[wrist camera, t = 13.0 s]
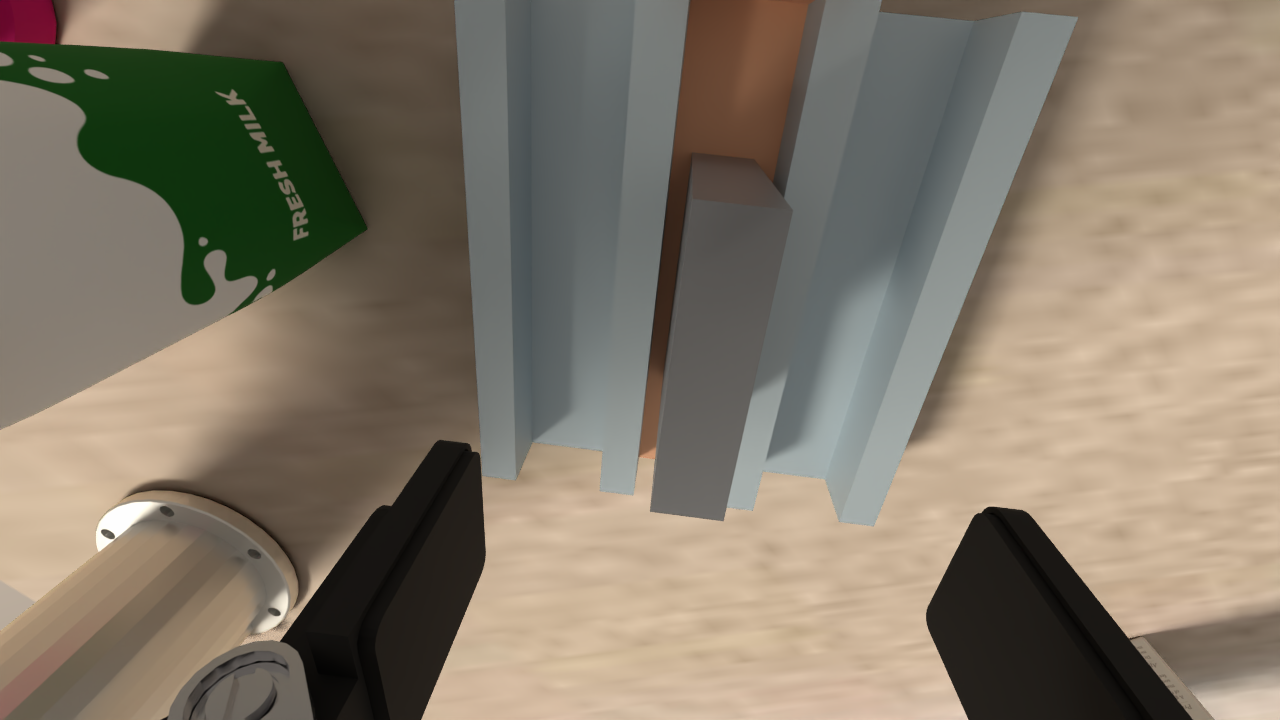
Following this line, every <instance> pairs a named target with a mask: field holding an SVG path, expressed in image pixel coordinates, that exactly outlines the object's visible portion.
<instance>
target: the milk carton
mask: <svg viewBox="0 0 1280 720" xmlns="http://www.w3.org/2000/svg"><path fill="white" fill-rule="evenodd" d="M367 229H368V228H367V226H366V225H365V223H364V221H363V219H362V217H361V215H360V213H359V211H358V209H357V207H356V205H355V203H354V201H353V199H352V197H351V195H350V193H349V191H348V189H347V187H346V185H345V183H344V182H343V180H342V178H341V176H340V174H339V172H338V170H337V168H336V166H335V164H334V162H333V160H332V158H331V156H330V154H329V152H328V150H327V148H326V146H325V144H324V142H323V140H322V138H321V137H320V135H319V133H318V131H317V129H316V127H315V125H314V123H313V121H312V119H311V117H310V115H309V113H308V111H307V109H306V107H305V105H304V103H303V101H302V99H301V97H300V95H299V94H298V92H297V90H296V88H295V86H294V84H293V82H292V80H291V78H290V76H289V74H288V72H287V70H286V68H285V66H284V64H283V62H274V61H263V60H253V59H242V58H232V57H221V56H211V55H201V54H191V53H181V52H171V51H160V50H148V49H132V48H115V47H98V46H80V45H61V44H41V43H22V42H2V41H0V430H1V429H3V428H5V427H8V426H10V425H12V424H15V423H17V422H19V421H21V420H23V419H26V418H28V417H30V416H32V415H35V414H37V413H39V412H41V411H43V410H45V409H47V408H49V407H51V406H53V405H55V404H57V403H59V402H61V401H63V400H65V399H67V398H69V397H71V396H73V395H75V394H77V393H79V392H81V391H83V390H85V389H87V388H89V387H91V386H93V385H94V384H96V383H98V382H100V381H102V380H104V379H106V378H108V377H110V376H112V375H114V374H116V373H118V372H120V371H122V370H124V369H126V368H127V367H129V366H131V365H133V364H135V363H137V362H139V361H141V360H143V359H145V358H147V357H149V356H151V355H153V354H155V353H157V352H159V351H161V350H162V349H164V348H166V347H168V346H170V345H172V344H174V343H176V342H178V341H180V340H182V339H184V338H186V337H188V336H190V335H192V334H193V333H195V332H197V331H199V330H201V329H203V328H205V327H207V326H209V325H211V324H213V323H215V322H217V321H219V320H221V319H223V318H224V317H226V316H228V315H230V314H232V313H234V312H236V311H238V310H240V309H242V308H244V307H246V306H248V305H250V304H251V303H253V302H255V301H257V300H259V299H261V298H262V297H264V296H266V295H268V294H270V293H271V292H273V291H275V290H276V289H278V288H280V287H281V286H283V285H285V284H286V283H288V282H289V281H291V280H293V279H294V278H296V277H297V276H299V275H300V274H302V273H303V272H305V271H306V270H308V269H309V268H311V267H312V266H314V265H315V264H317V263H318V262H320V261H321V260H323V259H324V258H325V257H327V256H328V255H330V254H331V253H333V252H334V251H336V250H337V249H339V248H340V247H342V246H343V245H345V244H346V243H348V242H349V241H350V240H352V239H353V238H355V237H356V236H358V235H359V234H361V233H362V232H364V231H366V230H367Z"/></svg>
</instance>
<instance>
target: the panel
mask: <svg viewBox="0 0 1280 720" xmlns="http://www.w3.org/2000/svg"><path fill="white" fill-rule="evenodd" d="M792 213H793V209H792V208H791V207H790V205H789V204H788V203H787V202H786V200H785V199H784V198H783V196H782V195H781V194H780V192H779V191H778V190H777V188H776V187H775V186H774V184H773V183H772V182H771V181H770V179H769V178H768V177H767V175H766V174H765V173H764V171H763V170H762V169H761V167H760V166H759V165H758V163H757V162H756V161H755V160H754V159H748V158H739V157H730V156H721V155H712V154H703V153H693V152H692V157H691V164H690V172H689V180H688V188H687V195H686V203H685V211H684V218H683V226H682V234H681V241H680V249H679V257H678V264H677V272H676V280H675V287H674V295H673V303H672V310H671V318H670V326H669V333H668V341H667V349H666V356H665V364H664V372H663V380H662V391H661V402H660V412H659V423H658V433H657V444H656V454H655V465H654V475H653V486H652V496H651V507H650V512H657V513H665V514H672V515H680V516H688V517H695V518H703V519H711V520H718V521H724V517H725V512H726V508H727V503H728V499H729V494H730V490H731V485H732V481H733V477H734V472H735V468H736V463H737V459H738V454H739V450H740V445H741V441H742V436H743V432H744V427H745V423H746V419H747V414H748V410H749V405H750V401H751V396H752V392H753V387H754V383H755V378H756V374H757V369H758V365H759V361H760V356H761V352H762V347H763V343H764V338H765V334H766V329H767V325H768V320H769V316H770V312H771V307H772V303H773V298H774V294H775V289H776V285H777V280H778V276H779V271H780V267H781V262H782V258H783V254H784V249H785V245H786V240H787V236H788V231H789V227H790V222H791V218H792Z"/></svg>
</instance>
